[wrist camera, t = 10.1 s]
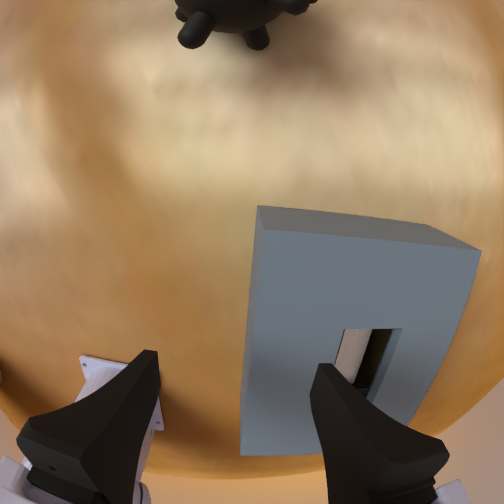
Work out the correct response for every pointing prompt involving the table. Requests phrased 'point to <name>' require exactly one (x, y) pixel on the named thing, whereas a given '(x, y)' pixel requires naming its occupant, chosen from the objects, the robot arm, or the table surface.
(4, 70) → the table surface
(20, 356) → the table surface
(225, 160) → the table surface
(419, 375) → the grey square hole block
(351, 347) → the wooden block
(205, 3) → the toy ball
